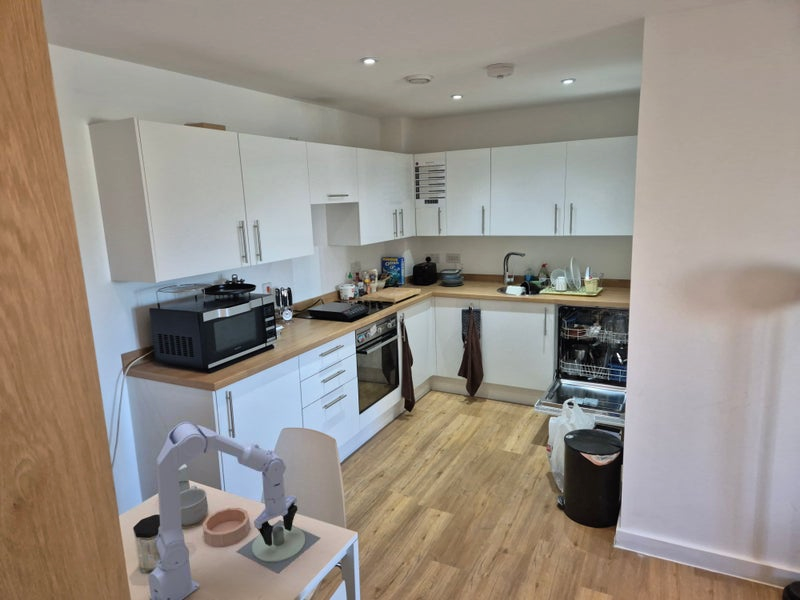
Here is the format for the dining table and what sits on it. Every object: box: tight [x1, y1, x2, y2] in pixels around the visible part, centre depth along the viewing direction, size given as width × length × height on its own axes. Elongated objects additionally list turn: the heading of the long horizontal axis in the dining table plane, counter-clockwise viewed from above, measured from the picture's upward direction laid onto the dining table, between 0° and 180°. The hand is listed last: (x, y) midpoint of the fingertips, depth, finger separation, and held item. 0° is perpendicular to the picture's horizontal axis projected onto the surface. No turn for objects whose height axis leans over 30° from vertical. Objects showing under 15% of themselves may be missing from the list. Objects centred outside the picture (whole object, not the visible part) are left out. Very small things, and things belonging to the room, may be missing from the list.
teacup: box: [180, 485, 209, 527], centre depth 164 cm, size 14×11×8 cm
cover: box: [252, 526, 305, 563], centre depth 149 cm, size 15×15×5 cm
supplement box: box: [178, 464, 191, 492], centre depth 173 cm, size 7×7×13 cm
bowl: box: [202, 507, 251, 548], centre depth 155 cm, size 13×13×4 cm
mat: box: [235, 519, 321, 574], centre depth 149 cm, size 17×17×1 cm
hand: (278, 536), depth 149 cm, fingers open, 7 cm apart
